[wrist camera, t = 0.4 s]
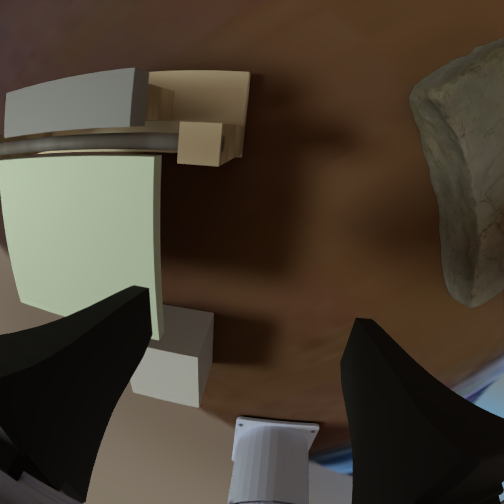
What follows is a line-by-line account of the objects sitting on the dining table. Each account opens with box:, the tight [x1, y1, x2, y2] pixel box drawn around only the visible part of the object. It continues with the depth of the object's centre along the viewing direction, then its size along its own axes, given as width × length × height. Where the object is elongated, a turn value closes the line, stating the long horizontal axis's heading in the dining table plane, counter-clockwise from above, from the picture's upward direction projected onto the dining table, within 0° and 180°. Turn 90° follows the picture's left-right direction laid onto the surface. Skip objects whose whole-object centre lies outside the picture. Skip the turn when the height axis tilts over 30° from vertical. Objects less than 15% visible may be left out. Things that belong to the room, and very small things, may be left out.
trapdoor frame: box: [0, 70, 251, 167], centre depth 14 cm, size 5×15×7 cm, turn 84°
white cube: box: [130, 304, 214, 408], centre depth 21 cm, size 5×5×5 cm
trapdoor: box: [0, 68, 164, 340], centre depth 13 cm, size 12×10×1 cm
